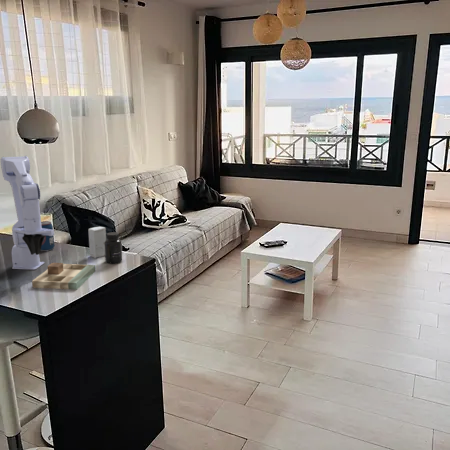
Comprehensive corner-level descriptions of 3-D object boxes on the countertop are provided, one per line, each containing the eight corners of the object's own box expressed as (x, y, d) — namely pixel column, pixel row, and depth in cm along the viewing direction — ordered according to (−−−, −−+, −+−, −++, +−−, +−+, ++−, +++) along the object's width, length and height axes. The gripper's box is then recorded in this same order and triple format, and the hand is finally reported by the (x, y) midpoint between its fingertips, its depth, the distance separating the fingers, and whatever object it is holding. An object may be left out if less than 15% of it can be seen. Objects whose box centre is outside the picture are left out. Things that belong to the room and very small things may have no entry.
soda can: (34, 250, 197) (31, 223, 194) (46, 245, 204) (44, 220, 200) (46, 252, 195) (44, 225, 192) (58, 247, 201) (55, 221, 198)
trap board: (32, 287, 157) (31, 281, 156) (55, 269, 174) (55, 263, 174) (76, 289, 156) (76, 282, 155) (95, 271, 173) (95, 265, 173)
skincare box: (96, 258, 188) (94, 230, 185) (89, 256, 190) (87, 228, 187) (107, 254, 192) (106, 227, 189) (101, 252, 195) (99, 225, 192)
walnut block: (48, 274, 163) (47, 266, 162) (53, 270, 167) (52, 262, 166) (58, 274, 163) (58, 266, 162) (63, 270, 166) (62, 263, 166)
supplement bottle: (118, 265, 180) (116, 236, 177) (102, 263, 181) (100, 235, 178) (125, 259, 187) (123, 231, 183) (109, 258, 188) (108, 230, 185)
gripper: (6, 219, 157) (10, 256, 160) (46, 221, 156) (49, 258, 159) (17, 215, 163) (21, 250, 167) (55, 216, 162) (58, 251, 166)
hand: (35, 253), depth 163 cm, fingers closed
